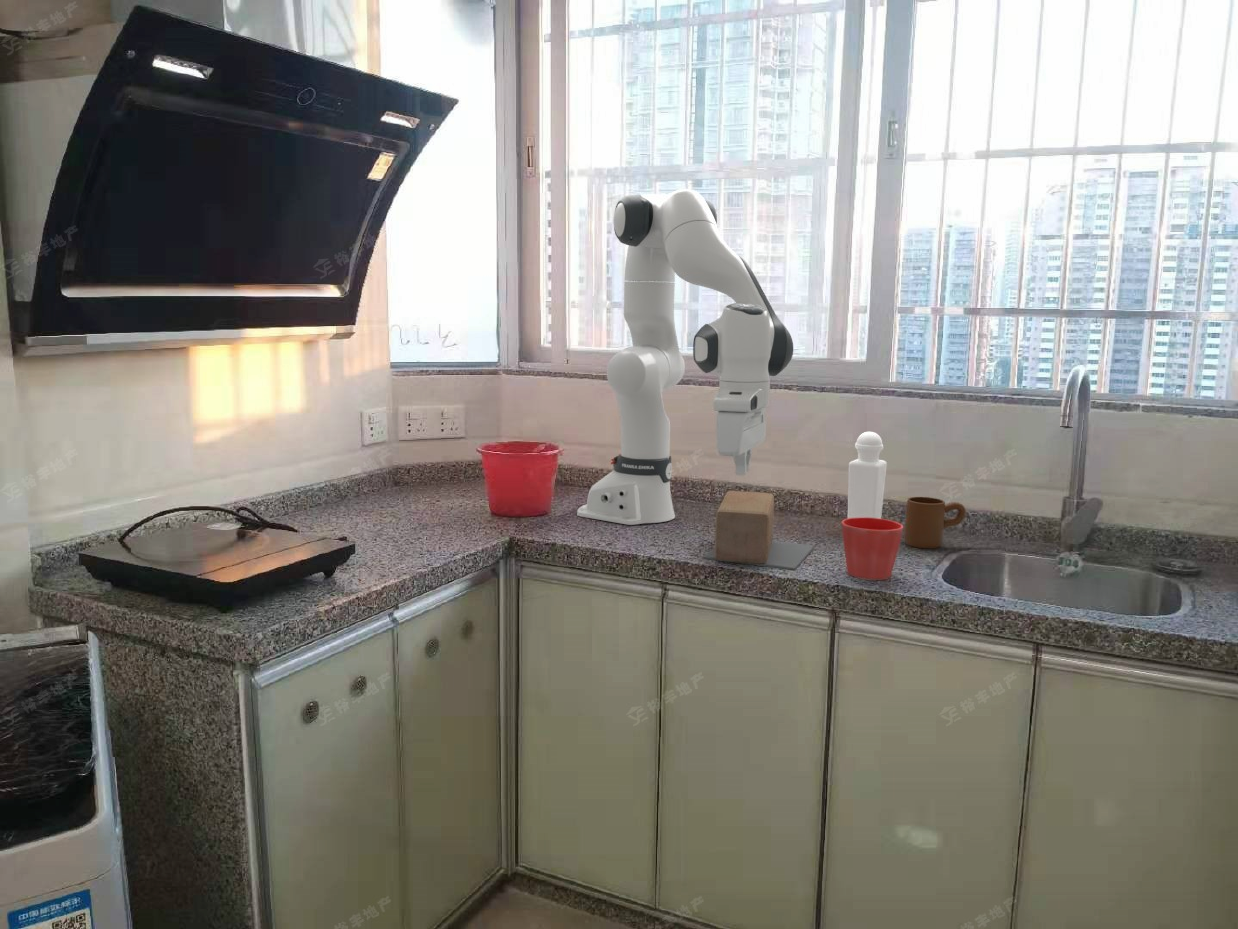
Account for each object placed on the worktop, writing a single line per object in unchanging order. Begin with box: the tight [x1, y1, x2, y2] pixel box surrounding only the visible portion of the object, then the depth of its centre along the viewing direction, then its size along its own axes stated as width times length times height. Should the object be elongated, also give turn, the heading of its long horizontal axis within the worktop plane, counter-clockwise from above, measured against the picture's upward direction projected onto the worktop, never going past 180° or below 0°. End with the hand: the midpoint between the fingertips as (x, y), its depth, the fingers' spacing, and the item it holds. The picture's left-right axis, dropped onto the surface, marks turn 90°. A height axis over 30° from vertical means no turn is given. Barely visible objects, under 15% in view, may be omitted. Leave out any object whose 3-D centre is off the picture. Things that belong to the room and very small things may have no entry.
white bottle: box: [847, 431, 888, 519], centre depth 205 cm, size 6×6×22 cm
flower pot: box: [840, 517, 904, 581], centre depth 174 cm, size 11×11×10 cm
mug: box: [903, 496, 967, 550], centre depth 196 cm, size 12×8×9 cm, turn 87°
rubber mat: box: [702, 540, 815, 571], centre depth 188 cm, size 18×18×1 cm
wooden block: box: [714, 490, 775, 564], centre depth 188 cm, size 10×10×20 cm
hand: (742, 474), depth 169 cm, fingers closed
